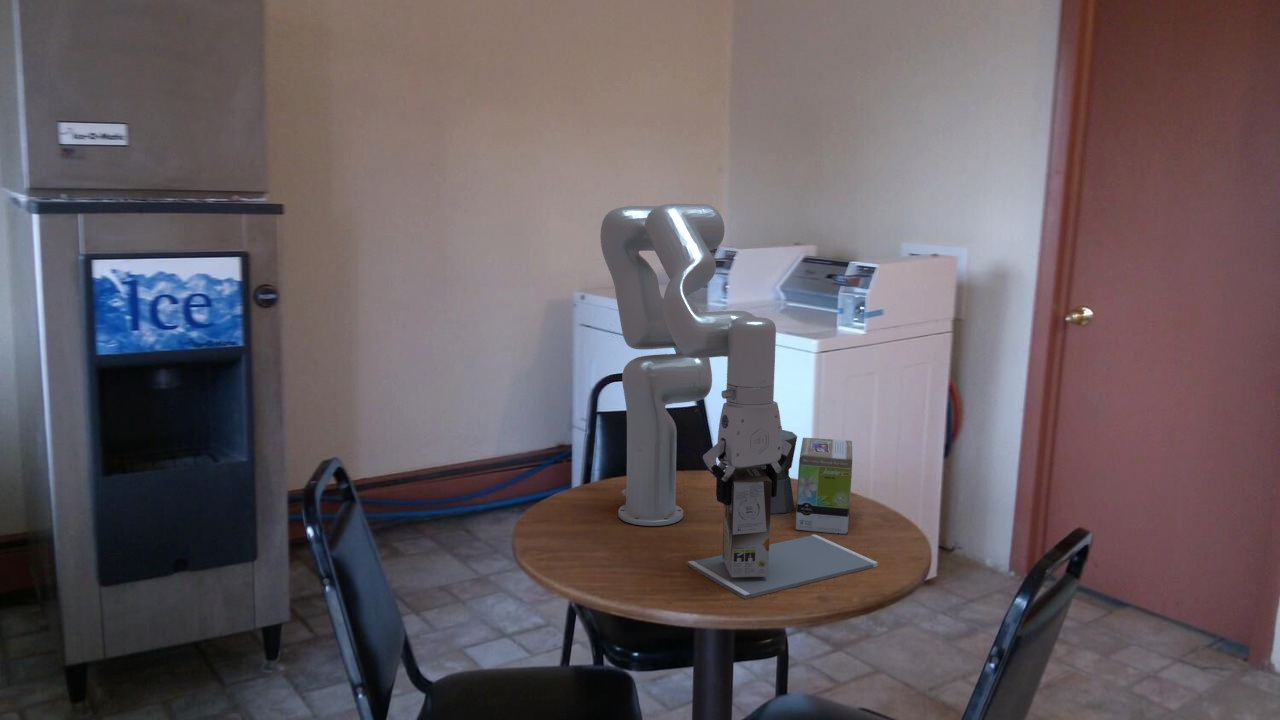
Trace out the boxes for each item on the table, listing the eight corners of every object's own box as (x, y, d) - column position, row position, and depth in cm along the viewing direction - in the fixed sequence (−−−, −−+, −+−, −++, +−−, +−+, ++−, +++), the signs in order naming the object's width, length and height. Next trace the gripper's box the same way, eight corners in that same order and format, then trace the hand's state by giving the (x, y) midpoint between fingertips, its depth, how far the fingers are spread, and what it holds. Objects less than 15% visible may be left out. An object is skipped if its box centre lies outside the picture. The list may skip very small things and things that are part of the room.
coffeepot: (790, 519, 191) (794, 428, 188) (742, 515, 193) (745, 425, 190) (799, 496, 206) (802, 412, 203) (754, 492, 208) (756, 409, 205)
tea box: (849, 535, 183) (853, 458, 180) (794, 531, 185) (797, 454, 182) (849, 510, 197) (852, 438, 195) (798, 506, 199) (801, 435, 197)
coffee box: (769, 577, 159) (773, 481, 156) (730, 578, 158) (733, 481, 155) (757, 556, 168) (760, 465, 165) (720, 557, 167) (723, 465, 164)
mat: (687, 565, 167) (687, 561, 166) (814, 537, 181) (815, 534, 181) (744, 599, 153) (744, 594, 153) (877, 566, 167) (877, 562, 167)
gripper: (719, 404, 150) (716, 513, 153) (807, 393, 159) (803, 497, 162) (691, 395, 157) (689, 500, 160) (778, 385, 165) (774, 485, 168)
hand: (746, 498), depth 161 cm, fingers closed on coffee box, 8 cm apart
